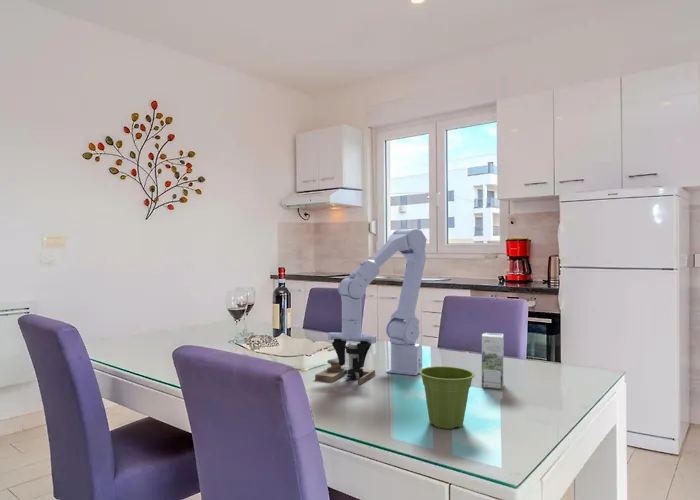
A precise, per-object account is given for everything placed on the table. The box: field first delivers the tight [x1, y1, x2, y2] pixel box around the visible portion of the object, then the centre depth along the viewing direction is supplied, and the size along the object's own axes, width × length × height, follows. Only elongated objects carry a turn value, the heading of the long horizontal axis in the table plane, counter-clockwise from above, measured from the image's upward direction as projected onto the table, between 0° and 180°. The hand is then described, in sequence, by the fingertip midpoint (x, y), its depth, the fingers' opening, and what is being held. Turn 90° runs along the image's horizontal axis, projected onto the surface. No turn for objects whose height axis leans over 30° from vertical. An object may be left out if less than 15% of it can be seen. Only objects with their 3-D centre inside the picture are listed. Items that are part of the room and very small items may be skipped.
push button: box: [343, 342, 364, 381], centre depth 146 cm, size 7×5×10 cm
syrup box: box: [481, 332, 505, 390], centre depth 137 cm, size 6×6×14 cm
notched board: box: [314, 358, 376, 386], centre depth 147 cm, size 14×12×4 cm
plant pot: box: [418, 365, 476, 430], centre depth 108 cm, size 12×12×11 cm
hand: (351, 366), depth 144 cm, fingers open, 5 cm apart
